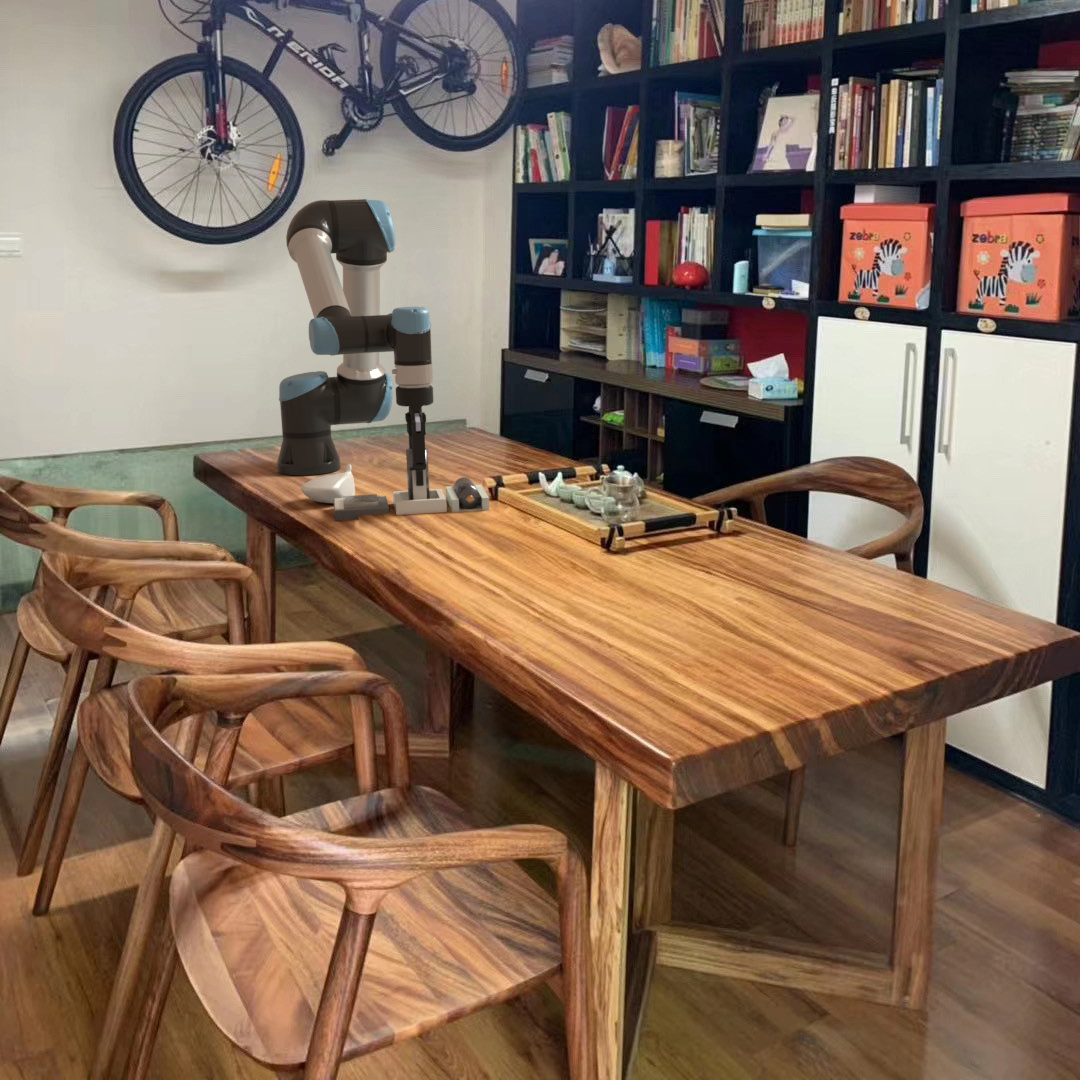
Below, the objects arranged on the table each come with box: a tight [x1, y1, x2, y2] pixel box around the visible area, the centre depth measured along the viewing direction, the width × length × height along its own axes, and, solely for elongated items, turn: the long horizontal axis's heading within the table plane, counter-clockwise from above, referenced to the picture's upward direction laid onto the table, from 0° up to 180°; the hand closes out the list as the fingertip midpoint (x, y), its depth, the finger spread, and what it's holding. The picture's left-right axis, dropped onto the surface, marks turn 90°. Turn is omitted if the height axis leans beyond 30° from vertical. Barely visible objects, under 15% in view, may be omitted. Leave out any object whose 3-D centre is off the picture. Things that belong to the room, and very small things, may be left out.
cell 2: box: [453, 477, 481, 509], centre depth 251 cm, size 12×4×4 cm, turn 10°
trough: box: [445, 484, 490, 513], centre depth 251 cm, size 13×8×3 cm, turn 10°
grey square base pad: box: [333, 495, 390, 522], centre depth 249 cm, size 11×11×2 cm
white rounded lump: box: [300, 463, 356, 505], centre depth 260 cm, size 10×11×12 cm
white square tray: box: [392, 488, 448, 516], centre depth 249 cm, size 10×10×4 cm
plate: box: [343, 493, 378, 508], centre depth 248 cm, size 7×7×1 cm
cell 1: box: [405, 447, 430, 500], centre depth 247 cm, size 4×4×12 cm
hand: (419, 497), depth 248 cm, fingers closed on cell 1, 4 cm apart
